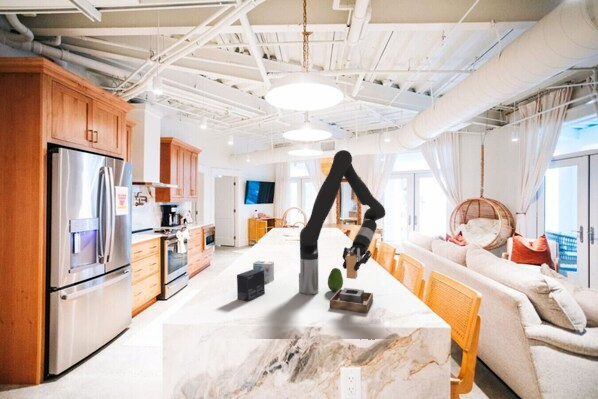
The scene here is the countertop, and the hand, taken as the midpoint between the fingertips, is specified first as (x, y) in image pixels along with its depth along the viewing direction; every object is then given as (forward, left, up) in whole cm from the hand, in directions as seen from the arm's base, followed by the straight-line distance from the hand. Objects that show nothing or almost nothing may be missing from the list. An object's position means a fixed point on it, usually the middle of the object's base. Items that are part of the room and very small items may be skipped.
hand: (349, 268), depth 131 cm
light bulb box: (-55, +20, -17) cm, 61 cm away
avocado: (-11, +17, -17) cm, 26 cm away
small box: (-47, -6, -17) cm, 51 cm away
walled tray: (+1, +2, -16) cm, 16 cm away
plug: (+1, +2, -4) cm, 5 cm away
